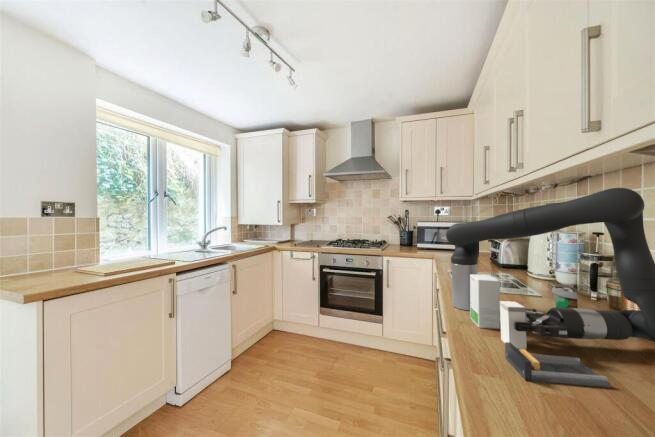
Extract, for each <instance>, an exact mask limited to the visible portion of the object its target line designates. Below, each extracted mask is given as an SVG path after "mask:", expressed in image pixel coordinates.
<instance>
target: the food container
mask: <svg viewBox="0 0 655 437" xmlns="http://www.w3.org/2000/svg"><path fill="white" fill-rule="evenodd" d="M551 293H552V294H554V295H553V296H554V302H555V308H576V309H579V306H578V305H579V304H578V303H579V302H578V292H577V291H576V290H575V288H574V285H573V284H557V285H555V284H554V286H553V287H552V288H551Z"/></svg>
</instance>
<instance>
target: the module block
mask: <svg viewBox="0 0 655 437" xmlns="http://www.w3.org/2000/svg"><path fill="white" fill-rule="evenodd" d="M525 309H526V307H525V306H524V305H522V304H520V303H518V302H517V301H509V300H506V301H503V300H500V340H501V341H502V342H503V343H504V344H505V342H509V343H511V344H513V345H514V346H515V347H516V348H517V349H518V350H520V349H525V350H527V332H526V331H516V330H515V329H514V322H526V320H525Z"/></svg>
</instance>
